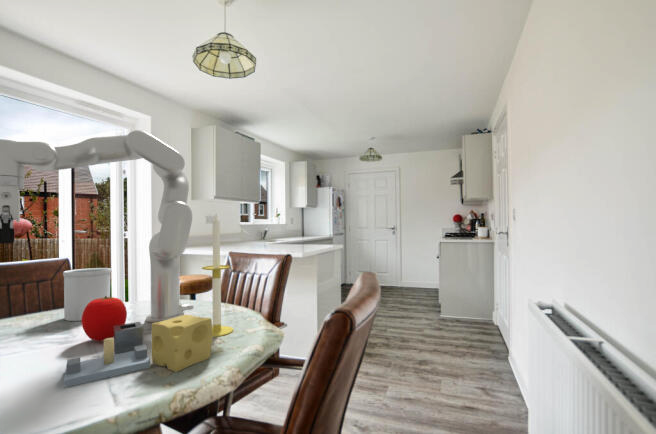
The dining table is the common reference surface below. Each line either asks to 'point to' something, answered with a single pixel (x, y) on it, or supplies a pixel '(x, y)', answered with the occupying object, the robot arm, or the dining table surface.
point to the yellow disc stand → (217, 283)
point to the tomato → (103, 317)
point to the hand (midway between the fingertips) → (6, 242)
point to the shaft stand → (106, 364)
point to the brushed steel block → (127, 337)
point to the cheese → (181, 341)
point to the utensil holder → (84, 289)
